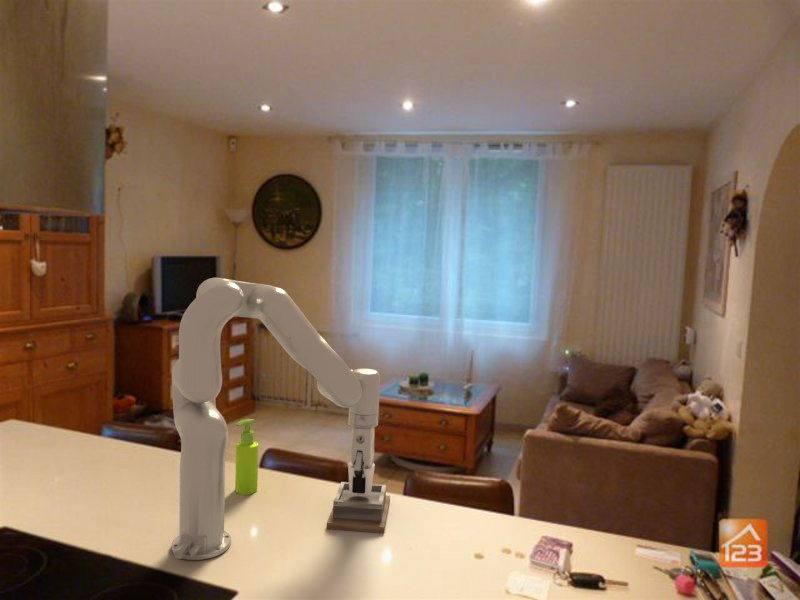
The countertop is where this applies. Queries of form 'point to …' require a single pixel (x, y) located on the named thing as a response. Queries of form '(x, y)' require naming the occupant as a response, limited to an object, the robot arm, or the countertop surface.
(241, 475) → the soap dispenser
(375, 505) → the stand
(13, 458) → the countertop surface
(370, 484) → the white cup
